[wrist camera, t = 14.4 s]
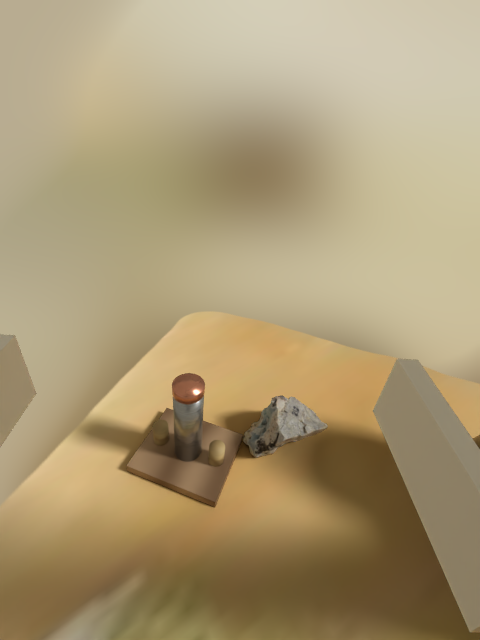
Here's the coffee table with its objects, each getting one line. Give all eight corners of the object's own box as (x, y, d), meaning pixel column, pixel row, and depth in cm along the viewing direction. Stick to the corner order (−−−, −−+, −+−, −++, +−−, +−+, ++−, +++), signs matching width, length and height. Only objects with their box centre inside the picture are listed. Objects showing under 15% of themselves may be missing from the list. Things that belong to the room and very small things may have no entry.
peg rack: (242, 440, 47) (244, 421, 45) (214, 507, 39) (216, 489, 37) (167, 413, 50) (166, 394, 48) (127, 471, 42) (123, 451, 40)
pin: (206, 443, 45) (209, 378, 38) (194, 466, 42) (196, 400, 35) (182, 434, 46) (181, 369, 39) (169, 456, 43) (166, 390, 36)
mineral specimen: (264, 445, 53) (292, 493, 44) (228, 422, 49) (250, 469, 40) (304, 399, 52) (341, 439, 43) (270, 373, 49) (303, 410, 40)
